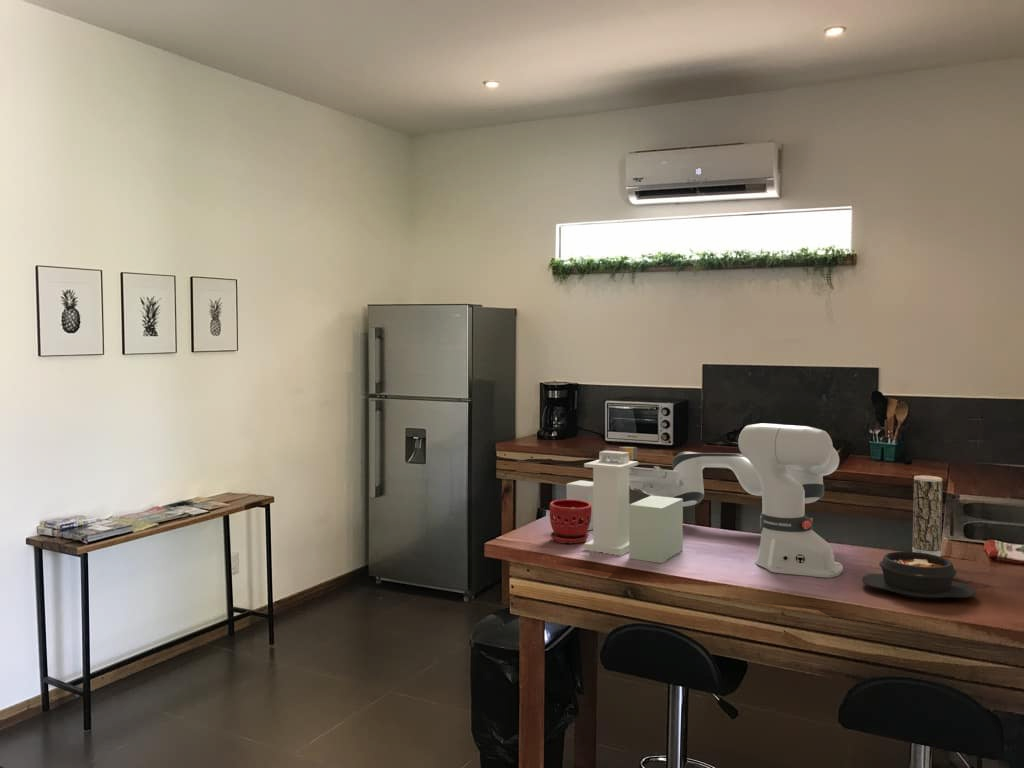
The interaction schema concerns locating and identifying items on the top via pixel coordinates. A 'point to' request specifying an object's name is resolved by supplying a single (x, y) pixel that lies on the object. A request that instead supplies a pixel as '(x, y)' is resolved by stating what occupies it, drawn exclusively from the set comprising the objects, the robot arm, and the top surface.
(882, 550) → the top surface
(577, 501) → the plant pot
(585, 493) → the supplement box
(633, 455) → the brown block with handle
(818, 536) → the robot arm
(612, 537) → the tall stand
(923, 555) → the casserole
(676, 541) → the pale green box
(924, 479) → the bark pattern canister
